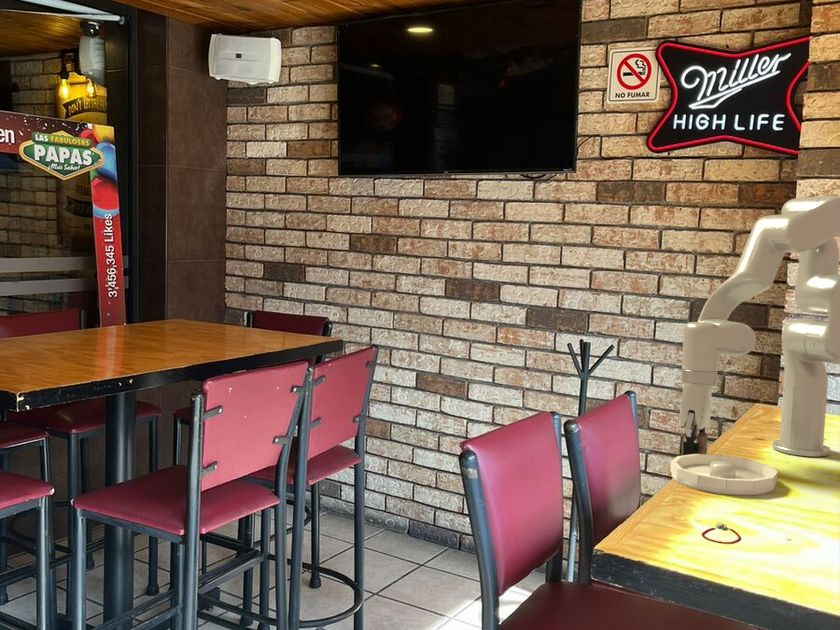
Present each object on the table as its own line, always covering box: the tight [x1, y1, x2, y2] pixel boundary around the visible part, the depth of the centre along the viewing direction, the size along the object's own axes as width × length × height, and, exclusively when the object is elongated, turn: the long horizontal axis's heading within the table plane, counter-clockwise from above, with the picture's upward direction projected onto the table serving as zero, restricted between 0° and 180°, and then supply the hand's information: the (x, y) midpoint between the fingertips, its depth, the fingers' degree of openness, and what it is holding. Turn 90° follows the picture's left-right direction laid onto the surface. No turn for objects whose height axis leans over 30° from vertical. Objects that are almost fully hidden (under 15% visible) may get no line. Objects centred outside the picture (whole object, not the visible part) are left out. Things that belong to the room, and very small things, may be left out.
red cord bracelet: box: [701, 522, 742, 545], centre depth 140 cm, size 9×6×1 cm
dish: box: [669, 453, 779, 497], centre depth 172 cm, size 20×20×4 cm
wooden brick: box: [681, 432, 709, 456], centre depth 189 cm, size 4×4×6 cm
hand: (694, 455), depth 189 cm, fingers open, 6 cm apart
